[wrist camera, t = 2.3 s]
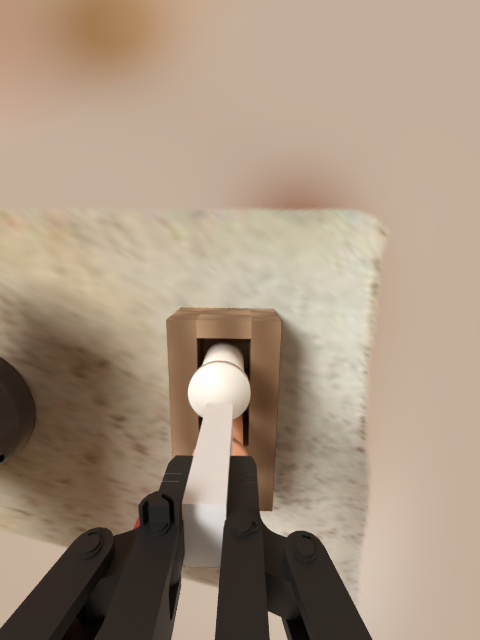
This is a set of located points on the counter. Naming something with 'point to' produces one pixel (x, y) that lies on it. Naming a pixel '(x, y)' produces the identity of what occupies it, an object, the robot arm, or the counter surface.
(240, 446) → the peach round knob
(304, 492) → the counter surface
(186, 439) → the button block
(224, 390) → the plunger white
